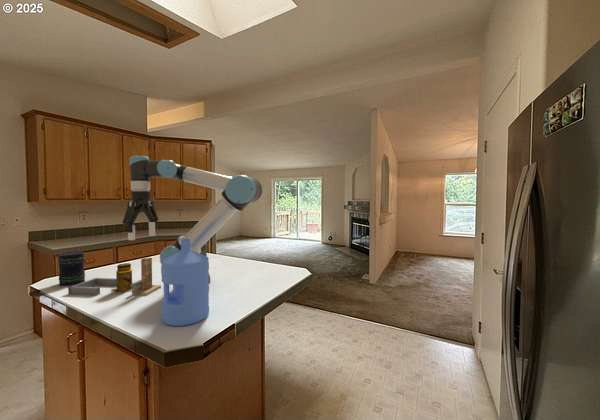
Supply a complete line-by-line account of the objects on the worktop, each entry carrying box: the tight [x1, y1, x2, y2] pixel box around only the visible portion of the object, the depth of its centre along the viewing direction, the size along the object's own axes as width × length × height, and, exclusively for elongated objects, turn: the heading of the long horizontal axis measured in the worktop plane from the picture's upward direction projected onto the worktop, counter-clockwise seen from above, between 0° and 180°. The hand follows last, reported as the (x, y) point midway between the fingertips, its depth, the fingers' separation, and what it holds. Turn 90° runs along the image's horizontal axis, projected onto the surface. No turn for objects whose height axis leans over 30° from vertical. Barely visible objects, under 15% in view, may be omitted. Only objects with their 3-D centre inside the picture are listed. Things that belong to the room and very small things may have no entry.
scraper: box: [131, 257, 162, 296], centre depth 118 cm, size 7×10×15 cm
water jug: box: [160, 239, 210, 327], centre depth 93 cm, size 16×16×28 cm
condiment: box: [110, 262, 133, 295], centre depth 119 cm, size 7×8×12 cm
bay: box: [67, 277, 117, 296], centre depth 120 cm, size 14×14×3 cm
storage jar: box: [57, 250, 86, 287], centre depth 129 cm, size 10×10×15 cm
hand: (142, 237), depth 118 cm, fingers open, 13 cm apart
